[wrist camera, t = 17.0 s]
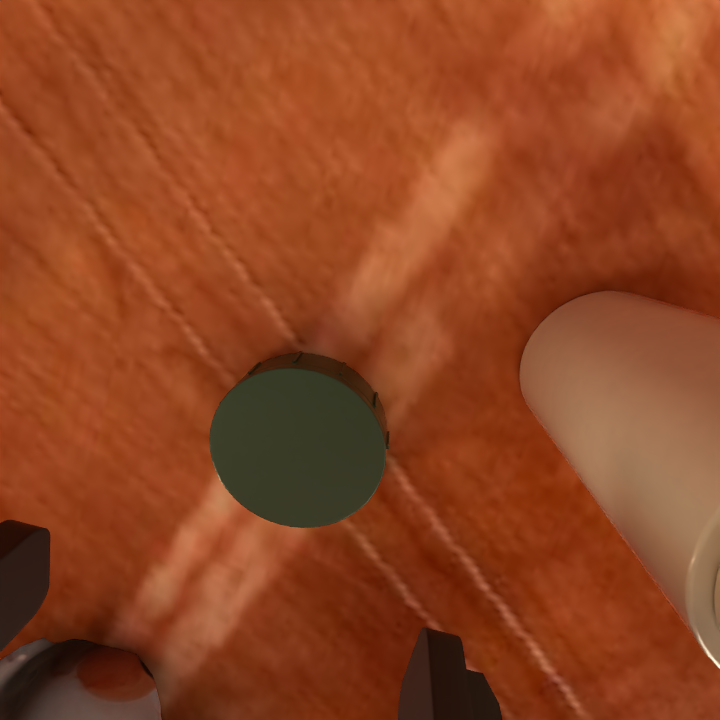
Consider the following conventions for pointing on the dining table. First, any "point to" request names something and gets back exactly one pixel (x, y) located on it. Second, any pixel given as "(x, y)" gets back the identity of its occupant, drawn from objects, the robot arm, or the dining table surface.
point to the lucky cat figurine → (76, 683)
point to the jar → (641, 434)
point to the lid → (300, 441)
